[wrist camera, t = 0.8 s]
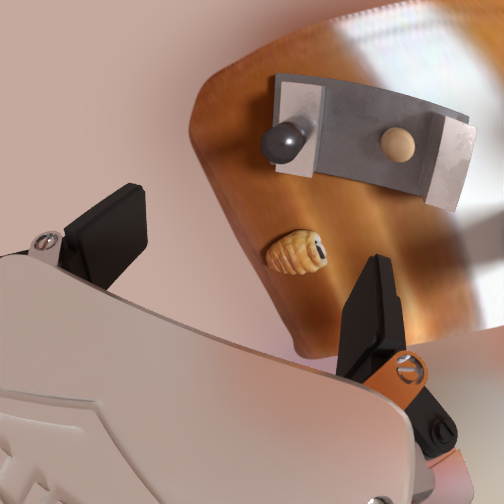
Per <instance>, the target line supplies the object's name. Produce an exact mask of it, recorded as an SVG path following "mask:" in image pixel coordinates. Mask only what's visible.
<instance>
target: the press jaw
mask: <svg viewBox="0 0 504 504" xmlns="http://www.w3.org/2000/svg"><path fill="white" fill-rule="evenodd" d="M325 89H326V86H321V85H314V84H306V83H297V82H282V84H281V101H280V116H279V124H278V125H276V126H275V127H273V128H271V129H269V130H268V131H266V132H265V134H264V135H263V137H262V139H261V150H262V153H263V154H264V156H265V157H266V158H267V159H268V160H269V161H271V162H273V163H275V164H276V172H281V173H287V174H293V175H299V176H305V177H310V178H312V176H313V174H314V171H315V169H316V167H317V163H318V155H319V146H320V138H321V129H322V120H323V110H324V100H325Z"/></svg>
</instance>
